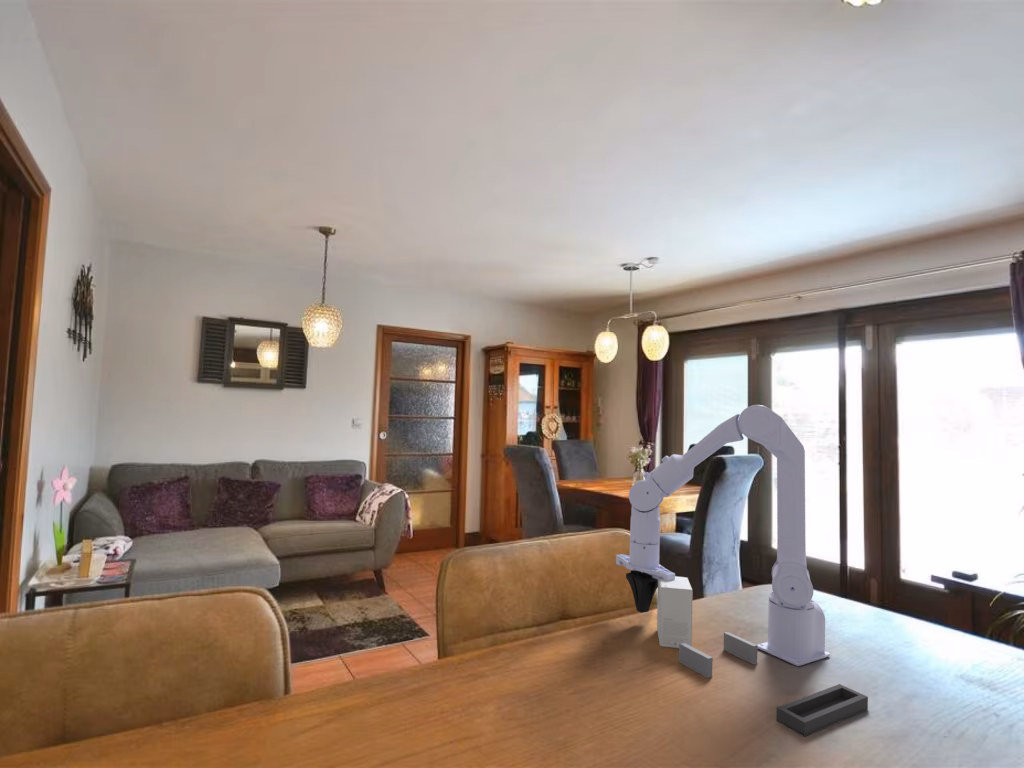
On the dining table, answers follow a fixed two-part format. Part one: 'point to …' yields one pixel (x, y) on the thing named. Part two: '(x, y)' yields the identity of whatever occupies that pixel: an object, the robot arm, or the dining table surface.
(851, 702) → the tray
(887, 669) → the dining table surface
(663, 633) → the small box
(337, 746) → the dining table surface
